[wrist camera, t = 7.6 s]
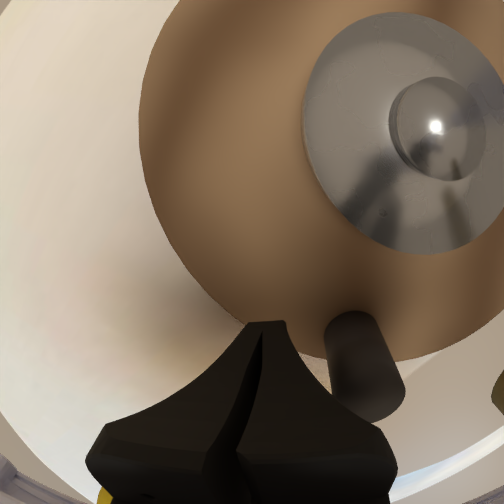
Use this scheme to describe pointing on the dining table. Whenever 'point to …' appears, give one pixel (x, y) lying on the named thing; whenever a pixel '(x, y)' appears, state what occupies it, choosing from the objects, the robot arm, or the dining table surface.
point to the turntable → (300, 193)
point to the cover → (407, 132)
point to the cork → (499, 393)
